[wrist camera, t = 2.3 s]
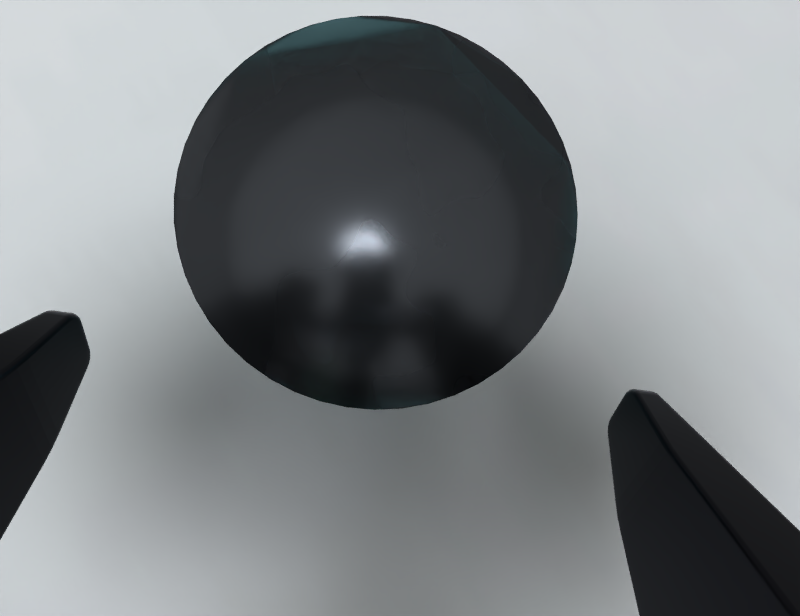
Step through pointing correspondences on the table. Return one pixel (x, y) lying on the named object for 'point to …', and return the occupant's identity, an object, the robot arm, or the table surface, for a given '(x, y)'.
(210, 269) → the ball
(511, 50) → the table surface
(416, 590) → the table surface
